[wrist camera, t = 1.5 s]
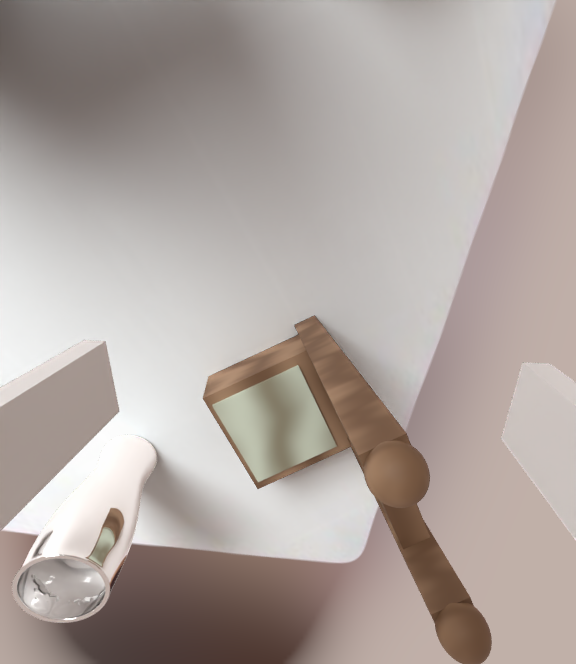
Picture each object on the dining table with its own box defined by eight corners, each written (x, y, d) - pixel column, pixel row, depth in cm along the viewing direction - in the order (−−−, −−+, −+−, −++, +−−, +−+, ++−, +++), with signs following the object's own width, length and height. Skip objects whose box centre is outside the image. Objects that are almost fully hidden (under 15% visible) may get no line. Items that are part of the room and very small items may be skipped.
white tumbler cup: (93, 478, 39) (5, 622, 25) (101, 425, 37) (10, 548, 23) (156, 486, 40) (106, 628, 26) (166, 436, 38) (118, 558, 24)
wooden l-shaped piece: (261, 467, 41) (279, 765, 18) (202, 365, 36) (127, 594, 14) (362, 421, 41) (508, 664, 18) (315, 313, 36) (432, 456, 13)
